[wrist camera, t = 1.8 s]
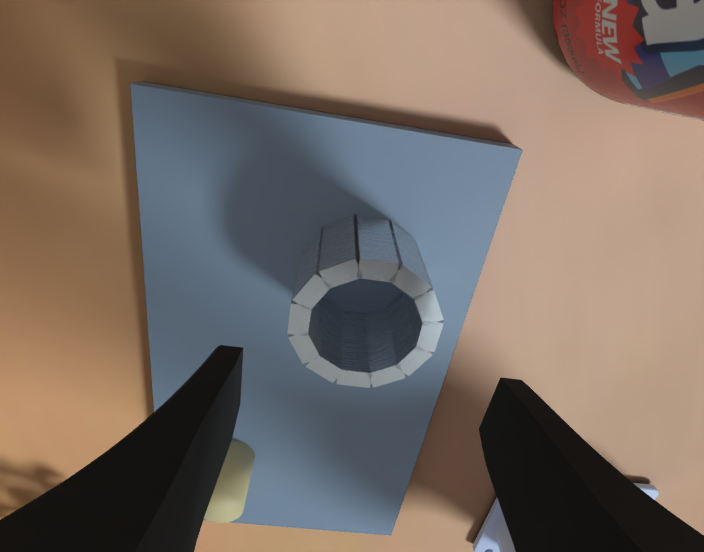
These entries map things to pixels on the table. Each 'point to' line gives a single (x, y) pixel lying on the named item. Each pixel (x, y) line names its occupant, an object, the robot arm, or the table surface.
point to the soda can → (637, 51)
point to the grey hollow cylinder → (357, 327)
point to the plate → (279, 279)
